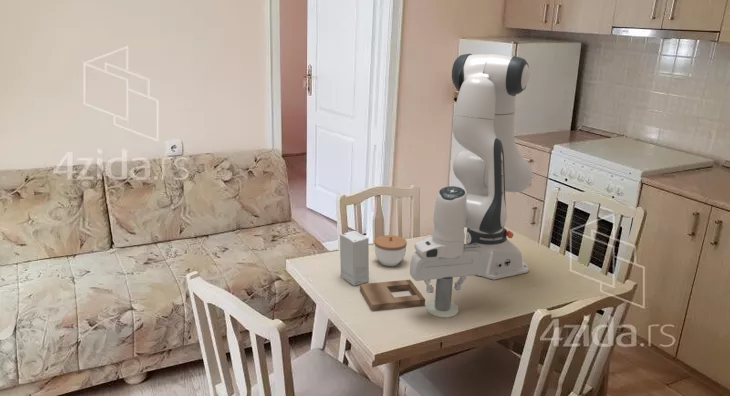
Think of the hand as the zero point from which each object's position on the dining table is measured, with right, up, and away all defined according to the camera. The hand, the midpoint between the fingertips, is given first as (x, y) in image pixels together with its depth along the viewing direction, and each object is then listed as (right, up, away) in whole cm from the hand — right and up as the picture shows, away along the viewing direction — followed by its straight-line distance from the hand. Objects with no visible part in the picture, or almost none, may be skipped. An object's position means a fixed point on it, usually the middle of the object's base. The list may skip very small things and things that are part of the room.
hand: (443, 290), depth 169 cm
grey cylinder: (0, -5, +2) cm, 6 cm away
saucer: (0, -6, +2) cm, 6 cm away
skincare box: (-26, 0, +19) cm, 32 cm away
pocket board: (-14, -3, +8) cm, 17 cm away
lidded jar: (-14, +4, +32) cm, 35 cm away
